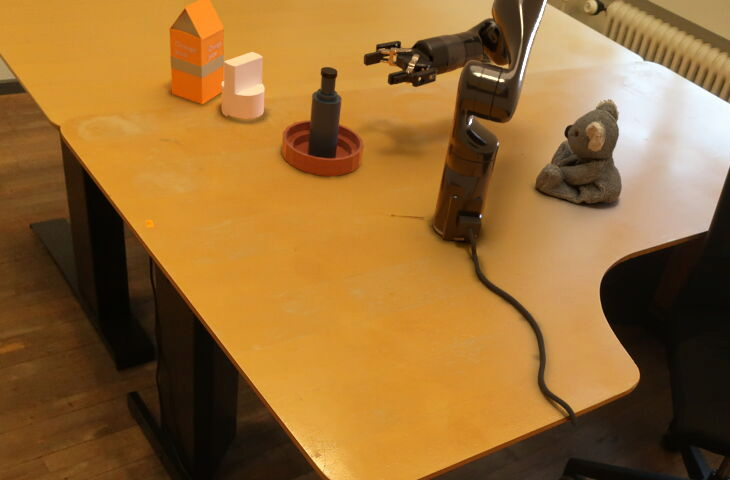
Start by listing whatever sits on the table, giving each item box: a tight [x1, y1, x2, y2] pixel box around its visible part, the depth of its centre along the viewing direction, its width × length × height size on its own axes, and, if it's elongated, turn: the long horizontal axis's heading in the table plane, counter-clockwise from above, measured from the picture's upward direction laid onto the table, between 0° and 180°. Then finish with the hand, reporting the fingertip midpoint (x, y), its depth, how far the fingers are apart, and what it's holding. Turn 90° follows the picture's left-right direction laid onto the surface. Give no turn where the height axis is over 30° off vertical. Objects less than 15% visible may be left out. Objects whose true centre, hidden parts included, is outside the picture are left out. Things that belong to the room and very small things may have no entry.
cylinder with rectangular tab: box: [221, 51, 266, 120], centre depth 180 cm, size 9×9×12 cm
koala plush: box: [535, 98, 623, 204], centre depth 180 cm, size 17×18×20 cm
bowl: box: [281, 120, 364, 177], centre depth 173 cm, size 16×16×4 cm
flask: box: [308, 66, 342, 158], centre depth 168 cm, size 6×6×18 cm
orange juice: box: [169, 0, 225, 105], centre depth 180 cm, size 8×9×20 cm
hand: (376, 69), depth 168 cm, fingers open, 8 cm apart
